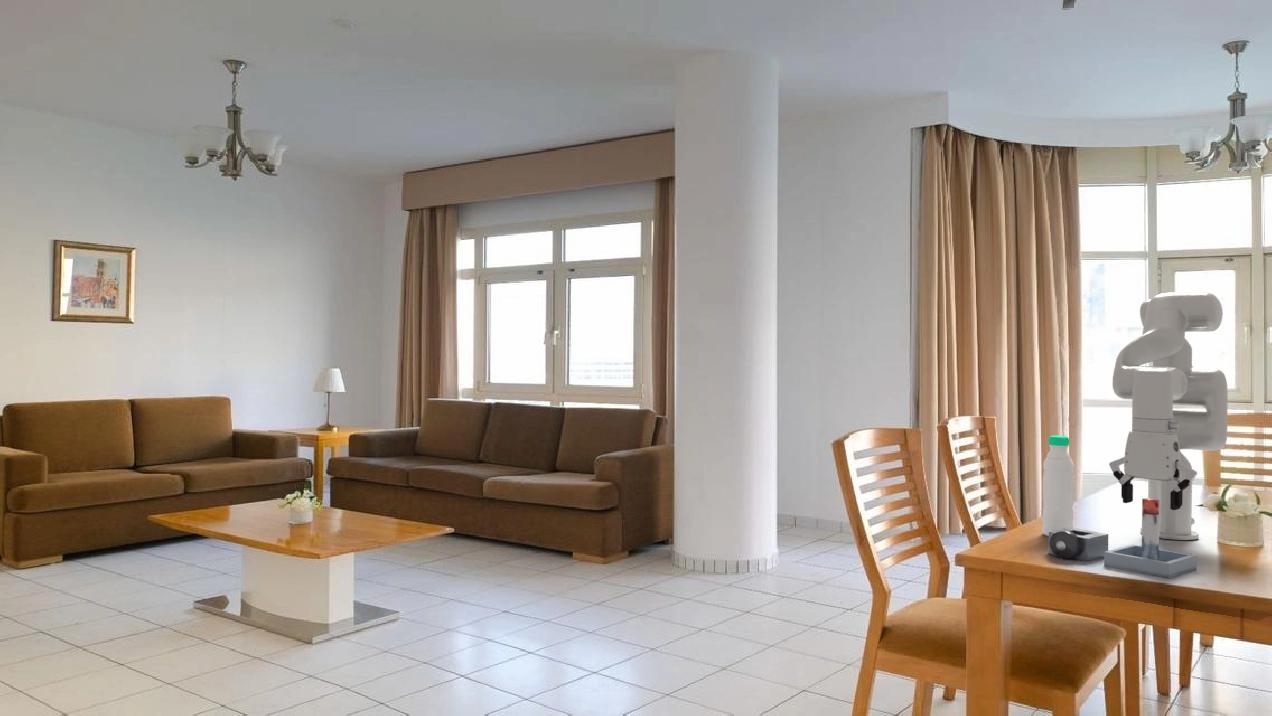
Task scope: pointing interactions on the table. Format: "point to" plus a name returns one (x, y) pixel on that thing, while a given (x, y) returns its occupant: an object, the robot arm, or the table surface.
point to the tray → (1150, 561)
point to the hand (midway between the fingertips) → (1151, 505)
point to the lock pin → (1150, 528)
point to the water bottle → (1058, 486)
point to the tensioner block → (1077, 544)
